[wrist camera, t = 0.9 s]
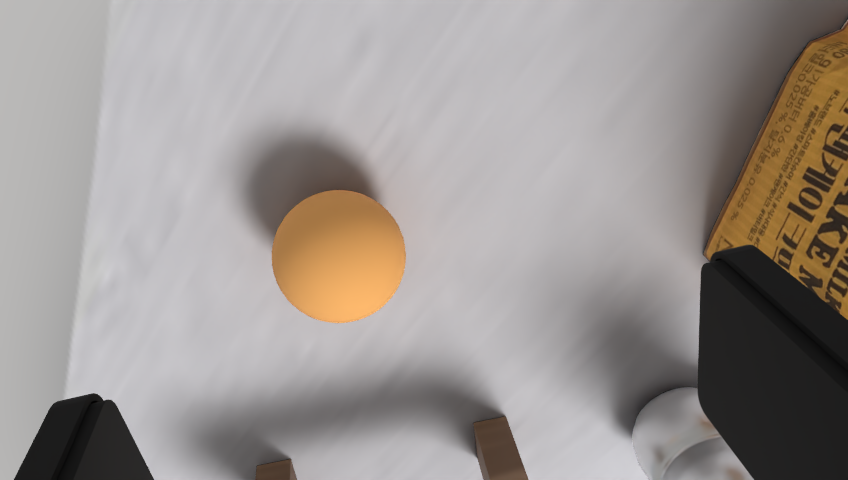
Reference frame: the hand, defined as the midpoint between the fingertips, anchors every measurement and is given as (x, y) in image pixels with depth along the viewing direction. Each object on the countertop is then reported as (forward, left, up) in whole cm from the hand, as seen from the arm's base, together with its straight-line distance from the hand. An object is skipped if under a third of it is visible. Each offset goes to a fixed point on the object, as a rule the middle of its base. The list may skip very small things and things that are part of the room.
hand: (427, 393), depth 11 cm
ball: (+8, -2, -19) cm, 20 cm away
